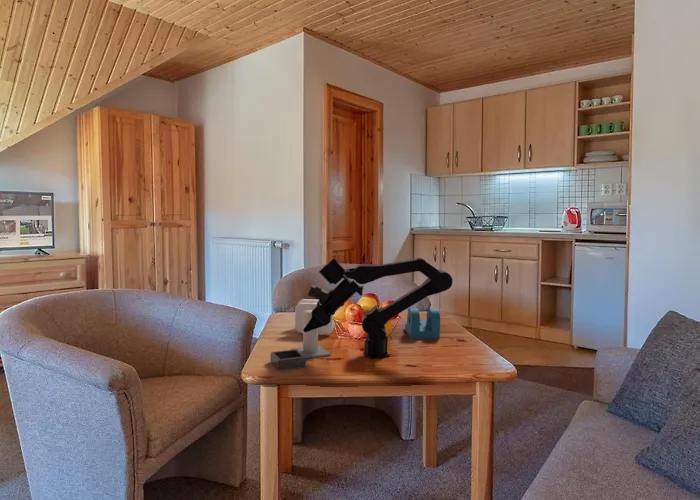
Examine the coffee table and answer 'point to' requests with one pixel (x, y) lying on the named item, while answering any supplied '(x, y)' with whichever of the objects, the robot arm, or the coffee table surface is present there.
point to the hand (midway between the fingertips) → (306, 327)
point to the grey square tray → (288, 359)
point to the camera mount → (423, 324)
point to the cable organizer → (310, 305)
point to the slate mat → (320, 353)
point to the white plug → (309, 335)
